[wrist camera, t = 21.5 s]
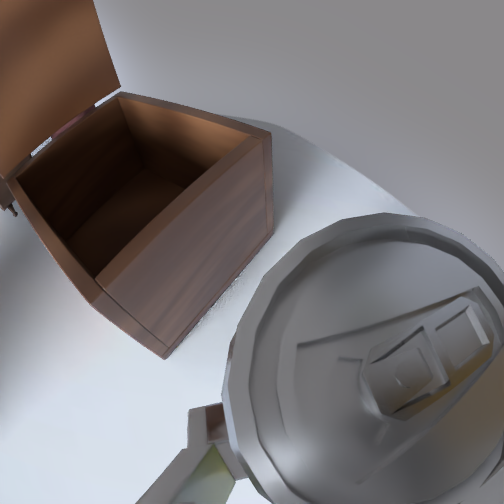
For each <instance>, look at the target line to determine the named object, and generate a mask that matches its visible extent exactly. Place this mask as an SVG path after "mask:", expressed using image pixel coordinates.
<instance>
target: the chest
mask: <svg viewBox="0 0 504 504" xmlns="http://www.w3.org/2000/svg"><path fill="white" fill-rule="evenodd" d="M6 183H7V185H8V187H9V189H10V191H11V192H12V194H13V196H14V198H15V200H16V201H17V203H18V205H19V206H20V208H21V210H22V211H23V213H24V215H25V216H26V218H27V219H28V221H29V223H30V224H31V226H32V227H33V229H34V230H35V232H36V234H37V235H38V237H39V238H40V240H41V241H42V243H43V244H44V245H45V247H46V248H47V250H48V251H49V253H50V254H51V255H52V257H53V258H54V260H55V261H56V262H57V264H58V265H59V266H60V268H61V269H62V271H63V272H64V273H65V274H66V276H67V277H68V278H69V280H70V281H71V282H72V284H73V285H74V286H75V287H76V289H77V290H78V291H79V292H80V294H81V295H82V296H83V297H84V298H85V300H86V301H87V302H88V303H89V304H90V305H91V306H92V307H93V308H94V309H95V310H97V311H98V312H99V313H100V314H102V315H103V316H104V317H105V318H107V319H108V320H109V321H111V322H112V323H113V324H114V325H116V326H117V327H118V328H120V329H121V330H122V331H124V332H125V333H126V334H128V335H129V336H131V337H132V338H133V339H135V340H136V341H137V342H139V343H140V344H142V345H143V346H144V347H146V348H147V349H149V350H150V351H152V352H153V353H155V354H156V355H158V356H159V357H161V358H162V359H164V360H165V359H166V358H167V357H168V356H169V355H170V354H171V353H172V352H173V350H174V349H175V348H176V347H177V346H178V345H179V343H180V342H181V341H182V340H183V339H184V338H185V337H186V335H187V334H188V333H189V332H190V331H191V330H192V328H193V327H194V326H195V325H196V324H197V323H198V321H199V320H200V319H201V318H202V317H203V316H204V314H205V313H206V312H207V311H208V310H209V309H210V307H211V306H212V305H213V304H214V303H215V302H216V301H217V299H218V298H219V297H220V296H221V295H222V294H223V292H224V291H225V290H226V289H227V288H228V287H229V285H230V284H231V283H232V282H233V281H234V280H235V278H236V277H237V276H238V275H239V274H240V273H241V271H242V270H243V269H244V268H245V267H246V266H247V264H248V263H249V262H250V261H251V260H252V259H253V257H254V256H255V255H256V254H257V253H258V252H259V250H260V249H261V248H262V247H263V246H264V245H265V243H266V242H267V241H268V240H269V239H270V238H271V236H272V235H273V234H274V228H273V227H274V211H273V169H272V137H271V132H268V131H265V130H263V129H260V128H257V127H254V126H251V125H248V124H245V123H242V122H239V121H236V120H232V119H229V118H226V117H223V116H219V115H216V114H213V113H209V112H206V111H202V110H199V109H195V108H191V107H188V106H184V105H180V104H176V103H172V102H168V101H164V100H159V99H155V98H151V97H146V96H141V95H136V94H132V93H127V92H119V93H117V94H116V95H114V96H113V97H111V98H110V99H108V100H107V101H105V102H103V103H102V104H101V105H99V106H97V107H96V108H95V109H93V110H92V111H90V112H89V113H87V114H86V115H85V116H83V117H82V118H80V119H79V120H78V121H76V122H75V123H74V124H72V125H71V126H70V127H68V128H67V129H66V130H64V131H63V132H62V133H61V134H59V135H58V136H57V137H56V138H54V139H53V140H52V141H51V142H49V143H48V144H47V145H46V146H45V147H43V148H42V149H41V150H40V151H39V152H38V153H37V154H35V155H34V156H33V157H32V158H31V159H30V160H29V161H28V162H27V163H25V164H24V165H23V166H22V167H21V168H20V169H19V170H18V171H17V172H16V173H15V174H14V175H13V176H12V177H11V178H10V179H9V180H8V181H7V182H6Z"/></svg>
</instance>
